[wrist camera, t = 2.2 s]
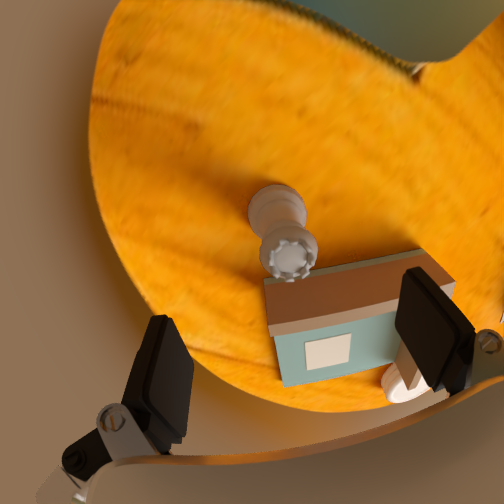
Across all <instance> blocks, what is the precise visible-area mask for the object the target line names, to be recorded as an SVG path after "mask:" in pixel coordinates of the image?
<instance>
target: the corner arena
mask: <svg viewBox="0 0 504 504" xmlns="http://www.w3.org/2000/svg"><path fill="white" fill-rule="evenodd" d="M417 266H420V267H421V268H422V269H423V270H424V271H425V272H426V273H427V274H428V275H429V276H430V277H431V278H432V279H433V280H434V281H435V282H436V284H437V285H438V286H439V287H440V288H441V289H442V290H443V291H444V292H445V293H446V295H447V296H448V297H449V298H450V299H451V297H452V294H453V290H454V287H455V283H456V281H455V280H454V279H453V278H452V277H451V276H450V275H449V274H448V273H447V272H446V271H445V270H444V269H443V268H442V267H441V266H440V265H439V264H438V263H437V262H436V261H435V260H434V259H433V258H432V257H431V256H430V255H429V254H428V253H427V252H426V251H425V250H424V249H417V250H412V251H408V252H403V253H398V254H393V255H388V256H384V257H379V258H374V259H369V260H364V261H358V262H353V263H348V264H343V265H338V266H332V267H327V268H321V269H316V270H310V271H309V273H310V274H309V275H307V276H306V277H305V278H303V279H302V277H301V276H300V275H299V276H296V277H294V282H285V279H284V278H280V277H279V278H278V279H276V278H275V277H270V278H264V279H263V280H264V290H265V300H266V311H267V321H268V328H269V333H270V337H274V340H275V345H276V350H277V355H278V361H279V366H280V371H281V376H282V382H283V387H289V386H295V385H301V384H307V383H312V382H317V381H322V380H327V379H331V378H336V377H340V376H345V375H349V374H353V373H357V372H361V371H364V370H368V369H372V368H375V367H379V366H382V365H385V364H389V363H392V362H395V364H396V366H397V368H398V370H399V372H400V375H401V377H402V379H403V381H404V383H405V386H406V388H407V390H408V391H409V390H412V389H414V388H416V387H417V385H418V383H419V381H420V379H421V377H422V374H421V373H420V371H419V369H418V367H417V365H416V363H415V362H414V360H413V358H412V356H411V354H410V353H409V351H408V349H407V347H406V346H405V344H404V342H403V341H402V339H401V337H400V335H399V334H398V332H397V330H396V328H395V317H396V312H397V307H398V301H399V295H400V289H401V283H402V276H403V274H404V273H405V272H406V270H407V269H409V268H413V267H417Z"/></svg>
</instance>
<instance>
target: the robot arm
mask: <svg viewBox="0 0 504 504" xmlns="http://www.w3.org/2000/svg"><path fill="white" fill-rule="evenodd" d="M395 328H396V330H397V332H398V334H399V335H400V337H401V339H402V341H403V342H404V344H405V346H406V347H407V349H408V351H409V353H410V354H411V356H412V358H413V360H414V362H415V363H416V365H417V367H418V369H419V371H420V373H421V374H422V376H423V378H424V380H425V382H426V384H427V386H428V387H432V389H433V391H434V392H437V391H439V390H441V389H443V388H446V391H447V395H446V399H445V400H443V401H441V402H439V403H436V404H434V405H432V406H430V407H428V408H425V409H423V410H421V411H419V412H416V413H414V414H411V415H409V416H406V417H404V418H401V419H399V420H396V421H393V422H391V423H388V424H385V425H382V426H379V427H376V428H373V429H370V430H367V431H364V432H360V433H357V434H353V435H350V436H346V437H342V438H338V439H334V440H330V441H326V442H322V443H317V444H312V445H307V446H301V447H295V448H289V449H283V450H275V451H268V452H260V453H248V454H234V455H206V456H183V455H174V454H173V453H172V452H171V451H170V449H171V443H175V444H181V443H182V437H185V435H186V431H187V422H188V413H189V404H190V395H191V388H192V379H193V372H194V363H193V360H192V358H191V356H190V354H189V352H188V350H187V348H186V346H185V344H184V342H183V340H182V338H181V336H180V334H179V332H178V330H177V328H176V326H175V324H174V321H173V319H172V318H168V316H167V315H165V314H164V315H156V316H152V317H151V319H150V322H149V324H148V327H147V330H146V332H145V335H144V338H143V341H142V344H141V347H140V349H139V351H138V352H137V354H136V357H135V360H134V363H133V366H132V369H131V372H130V375H129V378H128V382H127V385H126V388H125V392H124V395H123V398H122V401H121V404H119V403H112V404H109V405H107V406H105V407H104V408H103V409H102V410H101V411H100V412H99V414H98V416H97V419H96V424H97V428H96V429H94V430H93V431H91V432H90V433H88V434H87V435H86V436H84V437H82V438H81V439H79V440H78V441H76V442H75V443H73V444H72V445H70V446H69V447H68V448H66V450H65V451H64V453H63V455H62V467H61V466H59V465H58V466H57V467H56V469H55V470H54V471H53V472H52V473H51V475H50V476H49V477H48V478H47V479H46V481H45V482H44V483H43V484H42V485H41V487H40V488H39V489H38V491H37V493H36V500H37V503H38V504H504V340H503V338H502V337H501V336H500V334H499V333H497V332H496V331H494V330H491V329H483V330H481V331H479V332H478V333H477V334H476V333H475V331H474V330H475V328H474V327H473V325H472V324H471V323H470V322H469V320H468V319H467V318H466V317H465V315H464V314H463V313H462V312H461V311H460V310H459V308H458V307H457V306H456V305H455V304H454V303H453V301H452V300H451V299H450V298H449V297H448V296H447V295H446V293H445V292H444V291H443V290H442V289H441V288H440V287H439V286H438V285H437V284H436V282H435V281H434V280H433V279H432V278H431V277H430V276H429V275H428V274H427V273H426V272H425V271H424V270H423V269H422V268H421V267H420V266H417V267H413V268H409V269H407V270H406V272H405V273H404V274H403V276H402V283H401V289H400V295H399V301H398V307H397V312H396V317H395Z"/></svg>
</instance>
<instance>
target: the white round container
mask: <svg viewBox="0 0 504 504" xmlns="http://www.w3.org/2000/svg"><path fill="white" fill-rule="evenodd" d="M381 386H382V388H383V391H384V393H385V395H386V399H387V400H388V401H389V402H393V403H400V402H405V401H408V400H411V399H413V398H415V397H417V396H419V395H421V394H422V393H424V392H426V391H427V390H428V389H430V388H431V387H428V386H427V384H426V382H425V380H424V378H423V376H422V377H421V379H420V381H419V383H418V385H417V387H416V388H414V389H412V390H409V391H408V390H407V388H406V386H405V383H404V381H403V379H402V377H401V375H400V372H399V370H398V368H397V366H396V364H395V362H394V363H393V364H391V365H390V366H389V367H388V369H387V370H386V371H385V373H384V374H383V376H382V378H381Z"/></svg>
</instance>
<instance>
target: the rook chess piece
mask: <svg viewBox="0 0 504 504" xmlns="http://www.w3.org/2000/svg"><path fill="white" fill-rule="evenodd" d="M306 216H307V211H306V208H305V205H304V202H303V199H302V197H301V196H300V195H299V194H298V193H297V192H296V191H295V190H294V189H292V188H290V187H288V186H285V185H270V186H267V187H265V188H262V189H260V190H259V191H258V192H257V193H256V194H255V195H254V196H253V197H252V199H251V201H250V204H249V206H248V219H249V223H250V225H251V228H252V230H253V232H254V233H255V234H256V235H257V236H258V237H260V238H261V239H262V244H261V246H260V254H259V259H260V261H261V263H262V265H263V268H264V269H266V270H267V271H268V272H269V273H270V274H271V275H273V276H274V277H275V278H276V279H278V278H279V277H280V278H284V279H285V282H294V277H296V276H299V275H300V276H301V277H302V279H303V278H305V277H306V276H307V275H309V274H310V273H309V269H310V268H311V267H312V266H314V264H315V261H316V259H317V253H318V246H317V243H316V239H315V238H314V237H313V235H312V234H311V233H310V232H309V231H308V230H306V229H305V228H304V226H305V224H306Z"/></svg>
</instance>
